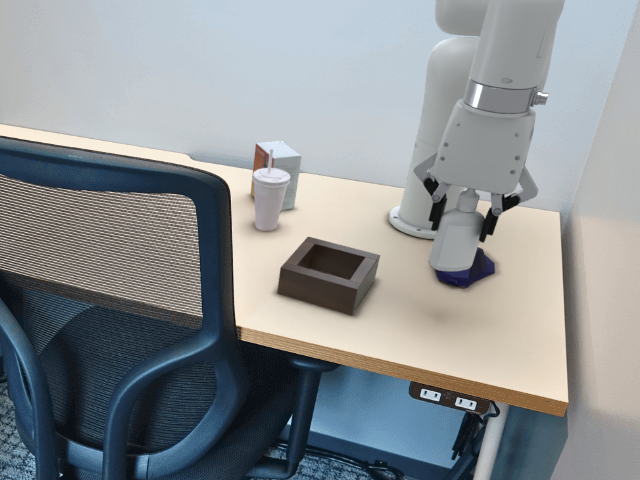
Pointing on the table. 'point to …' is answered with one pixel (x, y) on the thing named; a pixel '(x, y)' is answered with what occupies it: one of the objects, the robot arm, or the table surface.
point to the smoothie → (269, 195)
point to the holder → (324, 287)
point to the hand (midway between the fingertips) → (459, 231)
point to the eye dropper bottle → (458, 235)
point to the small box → (279, 166)
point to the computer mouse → (469, 271)
